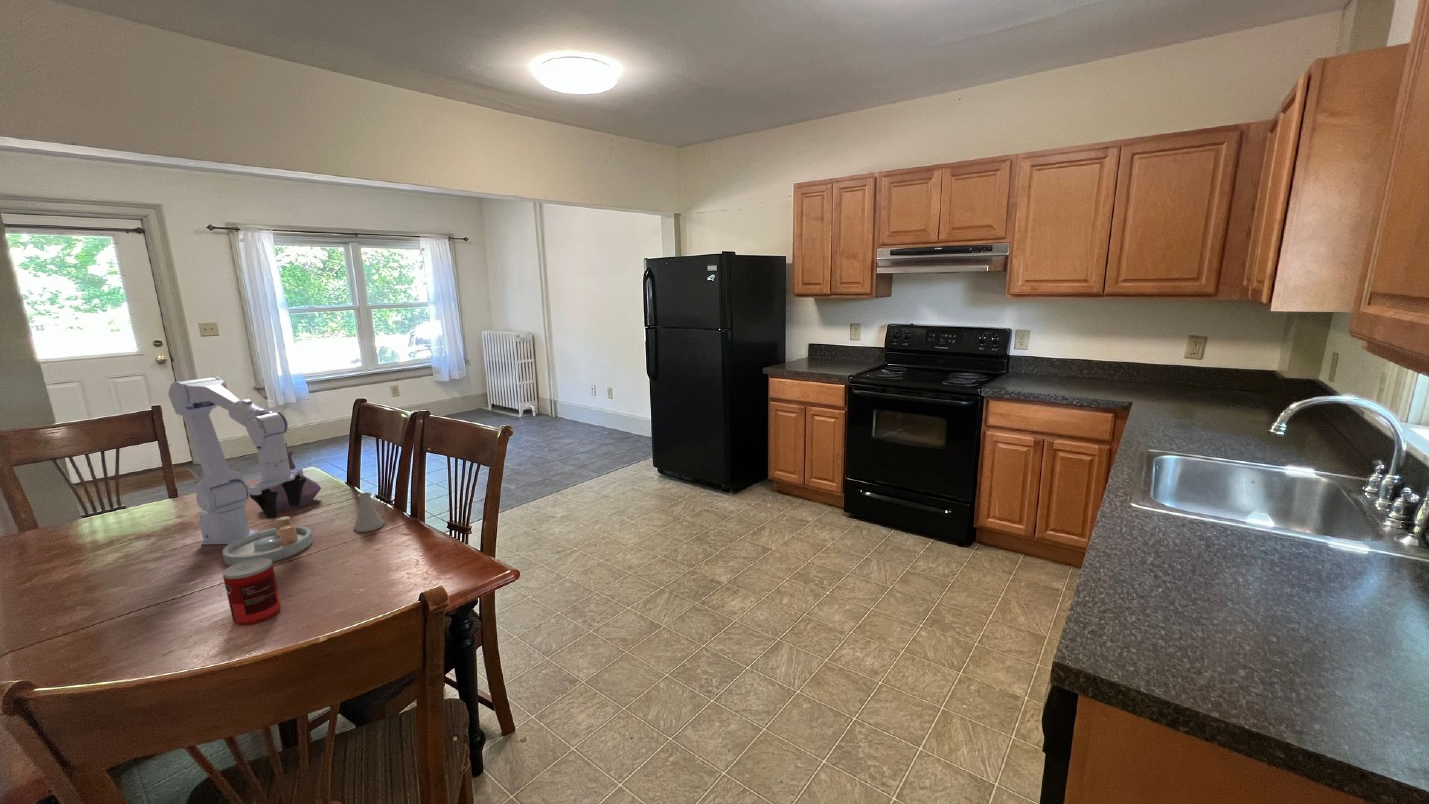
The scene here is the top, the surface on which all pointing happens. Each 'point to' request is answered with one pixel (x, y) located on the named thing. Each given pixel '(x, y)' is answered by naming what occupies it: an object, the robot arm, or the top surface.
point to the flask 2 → (367, 515)
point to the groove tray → (265, 546)
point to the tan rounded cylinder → (281, 523)
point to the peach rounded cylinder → (288, 535)
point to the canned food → (252, 591)
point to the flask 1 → (307, 492)
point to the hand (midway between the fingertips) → (283, 511)
